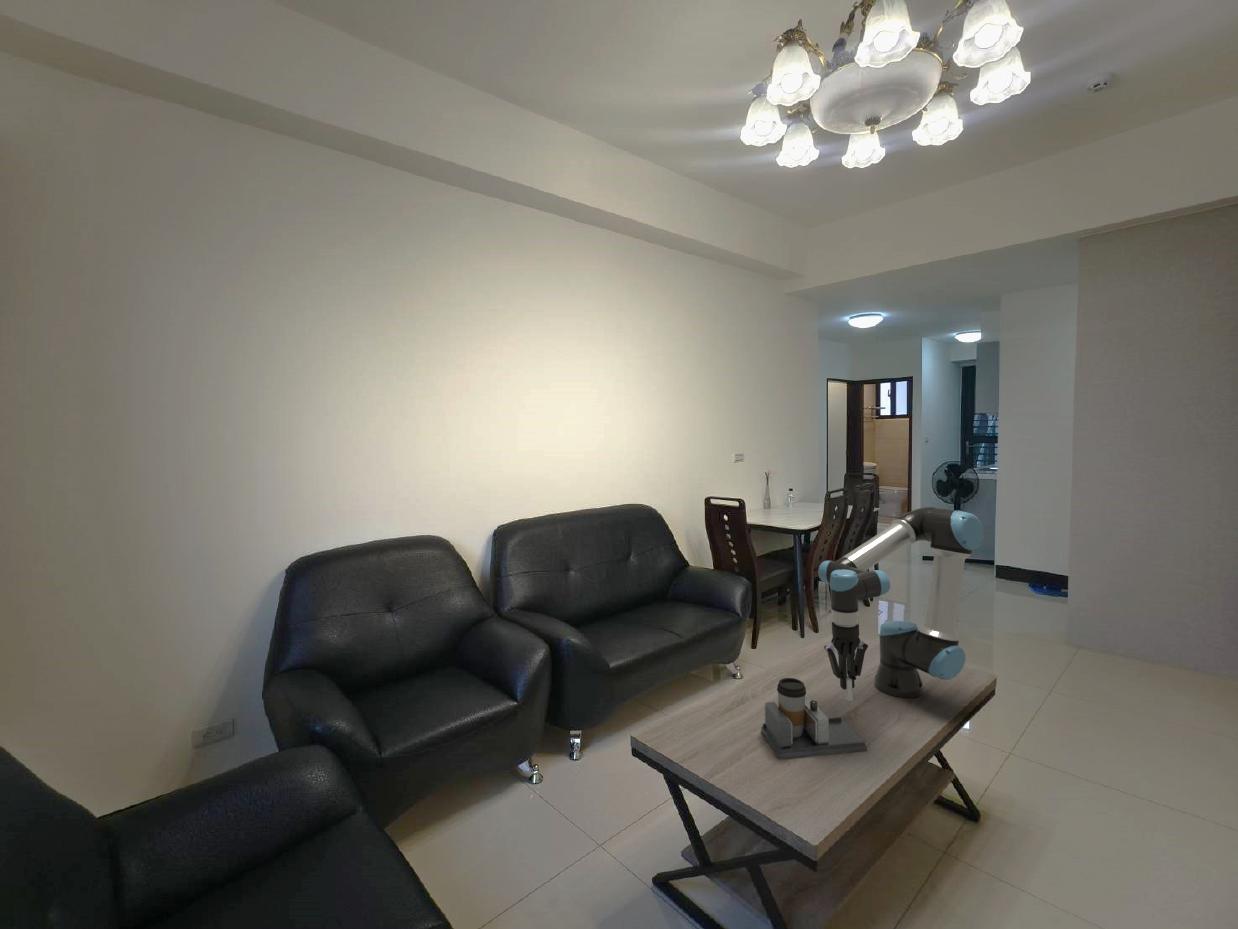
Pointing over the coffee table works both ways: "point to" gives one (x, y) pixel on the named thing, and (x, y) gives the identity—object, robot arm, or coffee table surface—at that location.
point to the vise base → (806, 736)
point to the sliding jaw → (816, 723)
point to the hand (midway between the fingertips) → (847, 698)
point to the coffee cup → (792, 702)
